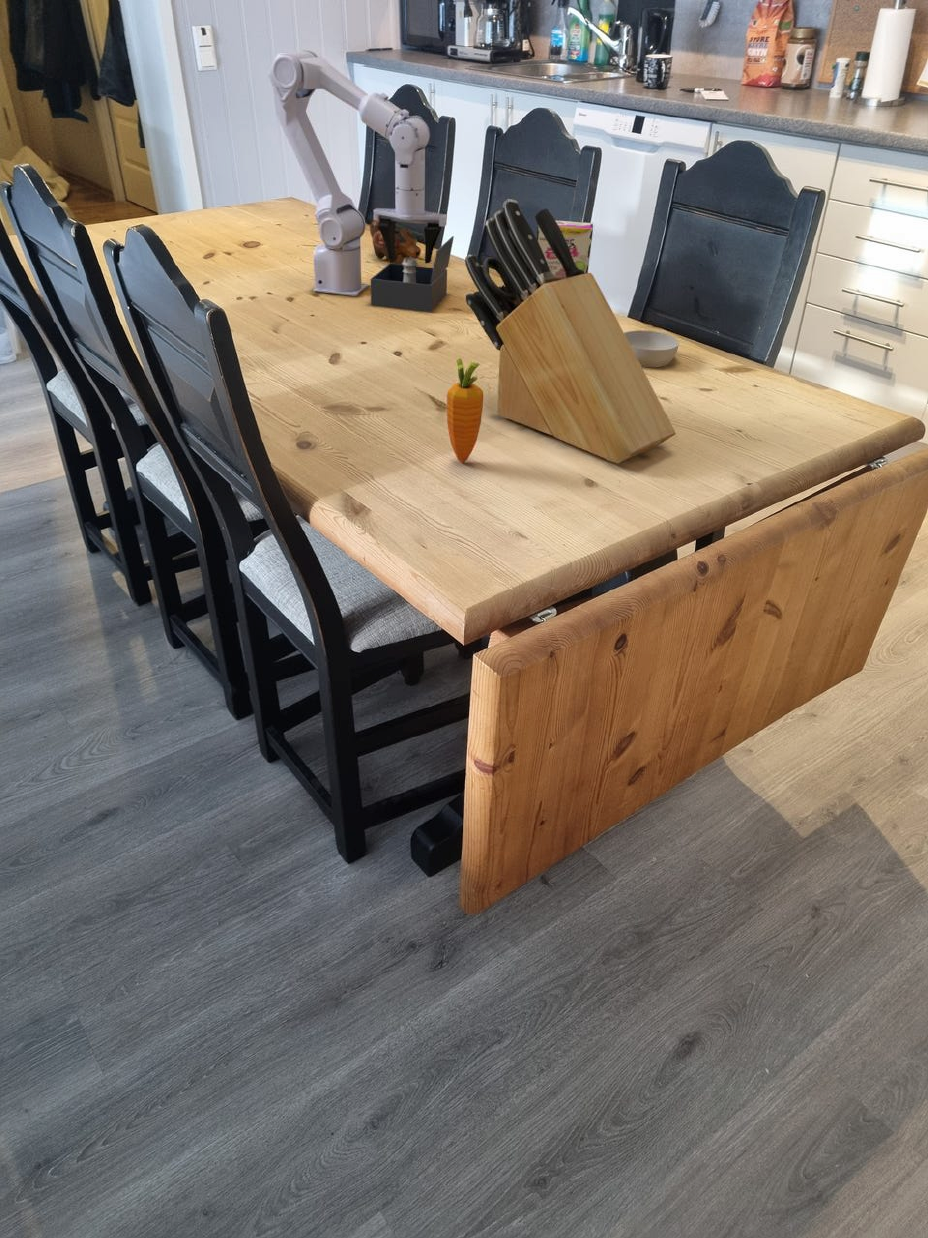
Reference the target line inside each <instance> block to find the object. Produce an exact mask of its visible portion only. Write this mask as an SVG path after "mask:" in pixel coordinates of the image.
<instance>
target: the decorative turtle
mask: <svg viewBox="0 0 928 1238" xmlns="http://www.w3.org/2000/svg"><path fill="white" fill-rule="evenodd" d="M378 223H379V220H373V221H372V222H371V223H370V224H369V232H370V236H371V238H372V245H373V250H374V255H375V257H376V259H378V260H382V259H384V258H386V260H387V261H388V262H389V264H390V263H391V264H395V263H396V262H397V260H398V258H399V257H400V256H401V258H402V259H404V258H405V257H408V260H409V259H410V257H412V260H413V258H415V259H416V260H417V259H419V257H420V256H421V253H422V249H421V247H420V246H418V245H417V243H418V240H417V237H416V235H415V234H414V233H413V231H411V230H410V229H409V228H407V227H406V226H403V225H401V224H396V229H395V258H394V259H393V260H389V257H388V252H387V248H386V245H385V242H384V239H383V237H382V235H381V233H380V231H379V229H378V226H377V224H378Z"/></svg>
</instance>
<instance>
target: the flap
mask: <svg viewBox="0 0 928 1238" xmlns="http://www.w3.org/2000/svg"><path fill="white" fill-rule="evenodd" d="M454 237H455V236H453V235H452V236H451V237H450V238H449V239H448V240H447V241H446V242H444V243H443V244H442V245H441V246H440V247H439V248H438V249H436V250H435V256H434V261H433V267H432V268H433V272H432V277H431V282H433V281H434V280H435V279H436V278H437V277H438V276H439V275H440V274H441V273H442V272H443V271H444V270H445V269H447V268H448V267H449V264H450V260H451V259H450V258H451V253H452V248H453V243H454Z"/></svg>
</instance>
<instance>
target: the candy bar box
mask: <svg viewBox="0 0 928 1238" xmlns="http://www.w3.org/2000/svg"><path fill="white" fill-rule="evenodd" d="M555 221H556V223H557V224H558V226H559V228H560V230H561V232H562V234H563V236H564V238H565V240H566V242H567V244H568V247H569V249H570V252H571V255H572V258H573V260H574V263H575V265H576V266H577V268H578V269H580V270H583V271H584V273H585V274H586V273H589V265H590V258H591V249H592V242H593V241H592V240H593V234H594V233H593V232H594V223H592V222H582V221H570V220H569V221H568V220H556V219H555ZM536 229H537V230H536V239H537V241H538V243H539V245H540V247H541V249H542V251H543V254H544V256H545V259H546V261H547V264H548V266H549V269H550V271H551V272H552V274H553V275H555V276H560V277H563V279H565V278H566V272H565V271H564V269H563V266H562V265H561V263H560V261H559V260H558V258H557V257H556V255H555V254H554V252H553V251H552V249H551V247H550V245H549V243H548V242H547V240H546V238H545V236H544V235H543V233H542V231H541V229H540V228H539V226H538V225H537V227H536Z"/></svg>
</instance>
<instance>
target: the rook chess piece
mask: <svg viewBox="0 0 928 1238" xmlns="http://www.w3.org/2000/svg"><path fill="white" fill-rule="evenodd" d="M418 264H419V263H418V262H417V258H416V259H415V258H413V259H412V257H410V258H409V259H408V257H405V258H403V260H402V262H401V265H403V266H404V270H403V272H404V279H403V282H407V283H416V272H417V271H416V269H415V268H416V266H418ZM416 284H417V283H416Z"/></svg>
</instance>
